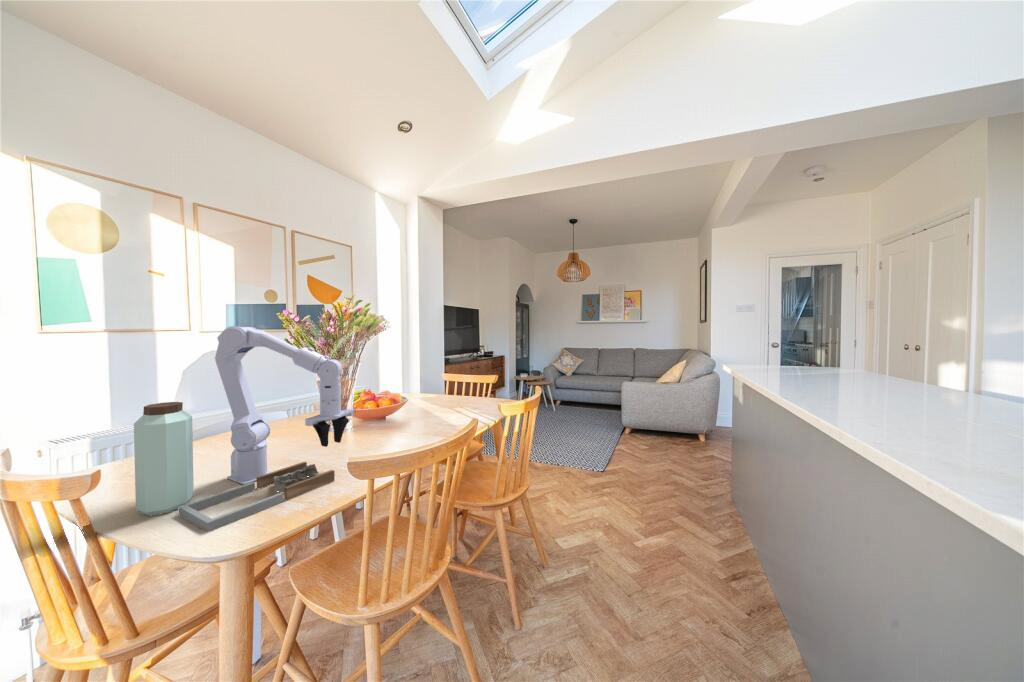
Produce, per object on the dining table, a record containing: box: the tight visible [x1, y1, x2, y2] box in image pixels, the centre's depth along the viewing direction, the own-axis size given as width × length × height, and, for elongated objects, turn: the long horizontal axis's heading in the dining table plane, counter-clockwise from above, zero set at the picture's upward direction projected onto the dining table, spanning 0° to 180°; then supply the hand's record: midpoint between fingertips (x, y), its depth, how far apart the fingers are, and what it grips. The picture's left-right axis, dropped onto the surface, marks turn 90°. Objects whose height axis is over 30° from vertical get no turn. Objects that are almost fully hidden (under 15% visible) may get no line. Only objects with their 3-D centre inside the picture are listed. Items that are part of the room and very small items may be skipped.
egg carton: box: [273, 463, 320, 493], centre depth 98 cm, size 11×8×4 cm
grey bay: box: [178, 481, 284, 533], centre depth 84 cm, size 14×15×2 cm
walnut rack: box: [256, 461, 335, 501], centre depth 98 cm, size 14×13×3 cm
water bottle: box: [133, 401, 195, 517], centre depth 85 cm, size 10×10×25 cm
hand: (331, 444), depth 107 cm, fingers open, 4 cm apart
